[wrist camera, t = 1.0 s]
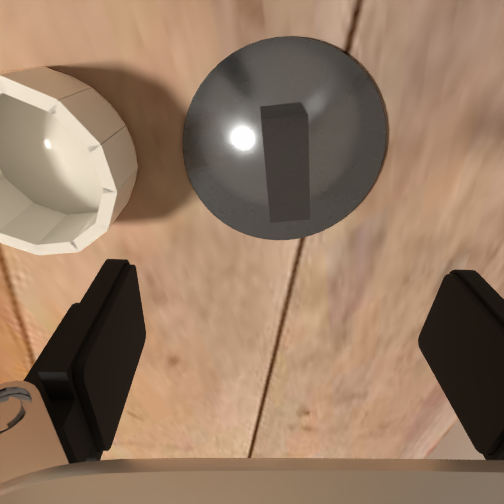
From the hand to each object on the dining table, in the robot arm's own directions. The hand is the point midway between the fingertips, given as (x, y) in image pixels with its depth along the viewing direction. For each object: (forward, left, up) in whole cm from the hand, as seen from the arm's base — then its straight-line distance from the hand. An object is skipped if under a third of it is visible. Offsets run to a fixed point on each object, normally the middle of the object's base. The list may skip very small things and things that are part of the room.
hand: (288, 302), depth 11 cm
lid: (-1, +2, -22) cm, 22 cm away
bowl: (+18, 0, -22) cm, 28 cm away
